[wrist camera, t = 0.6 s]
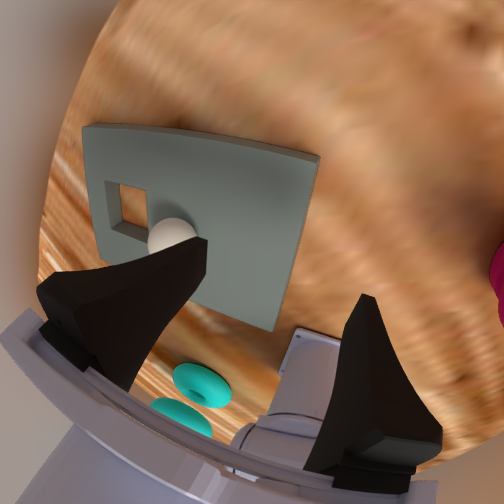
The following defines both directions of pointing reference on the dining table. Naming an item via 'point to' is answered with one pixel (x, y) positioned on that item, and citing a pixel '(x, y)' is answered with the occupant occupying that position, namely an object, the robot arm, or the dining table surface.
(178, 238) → the ball
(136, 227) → the plate
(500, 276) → the pepper mill
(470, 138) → the dining table surface
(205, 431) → the donuts
